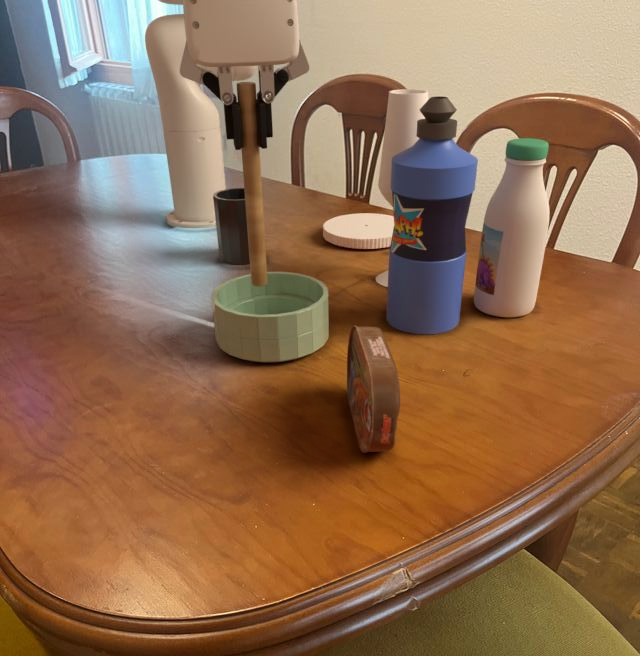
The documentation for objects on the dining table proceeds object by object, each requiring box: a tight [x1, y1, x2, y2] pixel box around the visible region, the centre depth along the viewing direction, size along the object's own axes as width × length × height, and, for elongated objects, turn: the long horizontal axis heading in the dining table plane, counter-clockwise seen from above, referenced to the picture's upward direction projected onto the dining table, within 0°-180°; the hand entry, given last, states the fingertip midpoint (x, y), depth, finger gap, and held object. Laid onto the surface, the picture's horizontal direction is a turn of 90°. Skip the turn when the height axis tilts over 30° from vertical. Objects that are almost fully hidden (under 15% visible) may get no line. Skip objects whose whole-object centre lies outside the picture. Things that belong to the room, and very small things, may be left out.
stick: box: [236, 81, 268, 286], centre depth 68 cm, size 2×2×20 cm
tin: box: [346, 325, 401, 454], centre depth 60 cm, size 15×3×8 cm, turn 5°
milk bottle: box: [473, 137, 551, 318], centre depth 79 cm, size 8×8×20 cm
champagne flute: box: [375, 88, 429, 288], centre depth 87 cm, size 7×7×24 cm
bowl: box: [210, 271, 330, 364], centre depth 76 cm, size 13×13×6 cm
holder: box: [213, 187, 250, 266], centre depth 98 cm, size 7×7×10 cm
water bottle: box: [386, 95, 479, 335], centre depth 75 cm, size 9×9×25 cm
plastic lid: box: [322, 212, 394, 250], centre depth 107 cm, size 14×14×2 cm
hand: (250, 145), depth 65 cm, fingers closed on stick, 1 cm apart
